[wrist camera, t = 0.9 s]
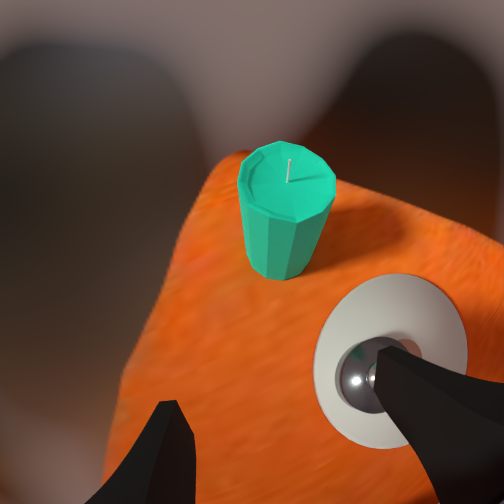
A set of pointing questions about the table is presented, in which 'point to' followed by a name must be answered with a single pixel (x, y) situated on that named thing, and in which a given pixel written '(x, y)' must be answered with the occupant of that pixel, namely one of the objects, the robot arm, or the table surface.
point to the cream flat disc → (385, 325)
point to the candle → (283, 207)
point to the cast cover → (361, 374)
